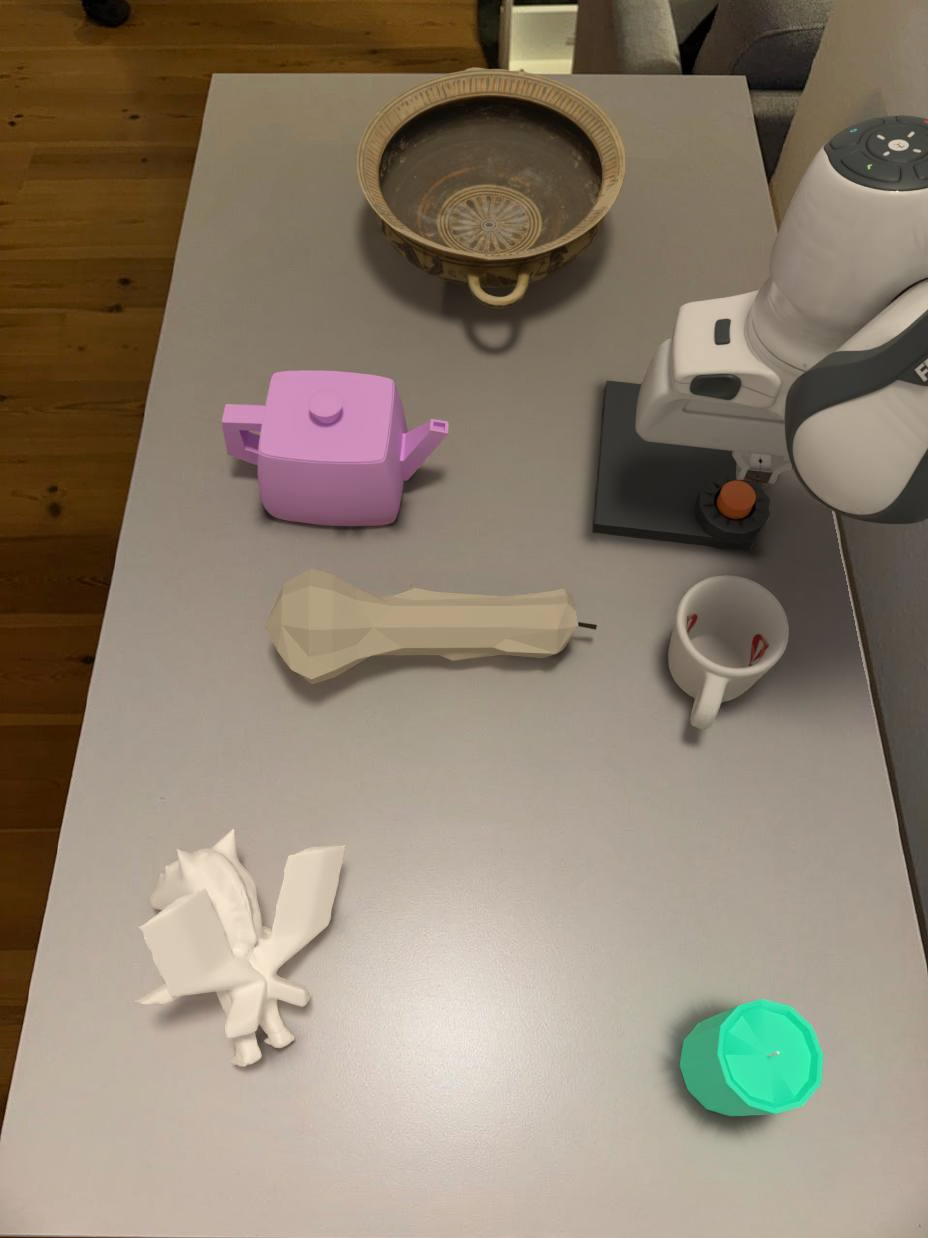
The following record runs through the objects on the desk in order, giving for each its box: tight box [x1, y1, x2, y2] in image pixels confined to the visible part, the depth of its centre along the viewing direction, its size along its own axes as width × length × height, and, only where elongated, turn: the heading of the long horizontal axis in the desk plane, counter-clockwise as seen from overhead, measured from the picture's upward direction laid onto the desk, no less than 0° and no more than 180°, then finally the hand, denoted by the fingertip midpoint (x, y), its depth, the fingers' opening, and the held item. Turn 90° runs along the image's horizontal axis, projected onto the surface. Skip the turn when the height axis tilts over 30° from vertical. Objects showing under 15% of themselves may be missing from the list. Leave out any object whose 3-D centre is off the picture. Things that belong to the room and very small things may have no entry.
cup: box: [667, 574, 790, 730], centre depth 75 cm, size 11×8×8 cm
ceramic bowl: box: [355, 66, 627, 309], centre depth 95 cm, size 30×24×10 cm
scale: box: [592, 380, 771, 551], centre depth 87 cm, size 14×15×3 cm
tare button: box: [717, 481, 756, 519], centre depth 83 cm, size 3×3×2 cm
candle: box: [679, 998, 825, 1117], centre depth 62 cm, size 6×6×12 cm
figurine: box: [133, 828, 347, 1068], centre depth 66 cm, size 15×12×14 cm
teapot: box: [221, 369, 449, 527], centre depth 83 cm, size 18×10×10 cm, turn 87°
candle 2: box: [264, 567, 598, 685], centre depth 77 cm, size 9×8×25 cm
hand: (754, 474), depth 80 cm, fingers closed
